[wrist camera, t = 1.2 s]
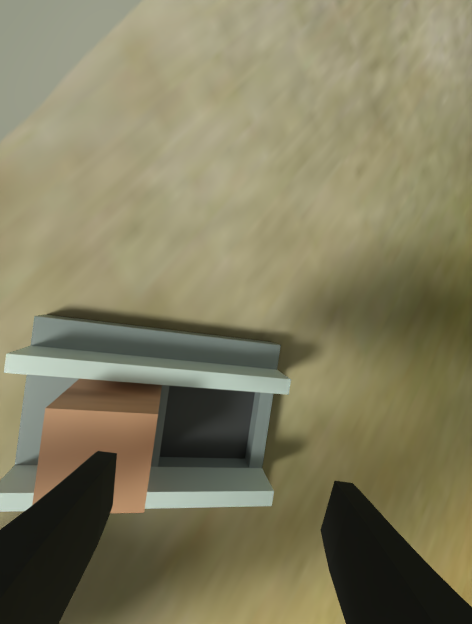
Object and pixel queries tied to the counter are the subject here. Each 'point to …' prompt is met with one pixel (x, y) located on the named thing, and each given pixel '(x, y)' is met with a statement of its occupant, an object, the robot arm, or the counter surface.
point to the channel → (172, 409)
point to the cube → (101, 436)
